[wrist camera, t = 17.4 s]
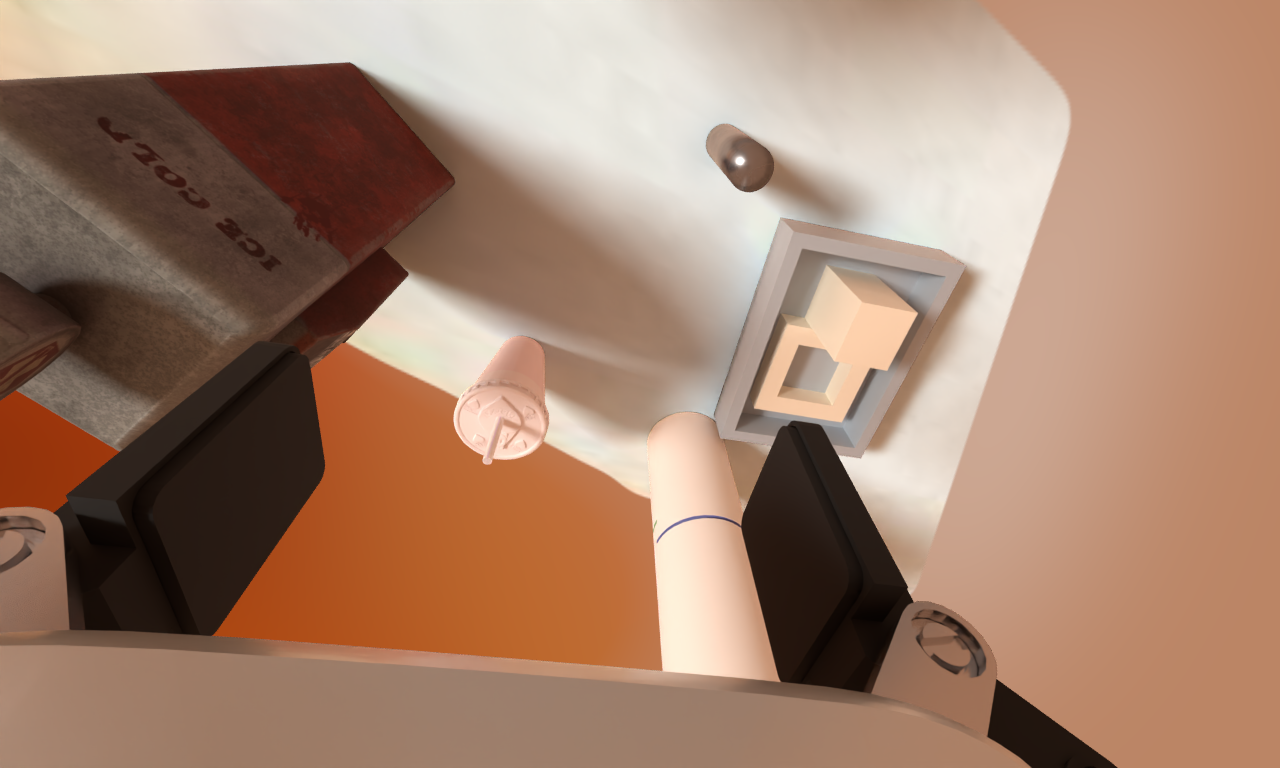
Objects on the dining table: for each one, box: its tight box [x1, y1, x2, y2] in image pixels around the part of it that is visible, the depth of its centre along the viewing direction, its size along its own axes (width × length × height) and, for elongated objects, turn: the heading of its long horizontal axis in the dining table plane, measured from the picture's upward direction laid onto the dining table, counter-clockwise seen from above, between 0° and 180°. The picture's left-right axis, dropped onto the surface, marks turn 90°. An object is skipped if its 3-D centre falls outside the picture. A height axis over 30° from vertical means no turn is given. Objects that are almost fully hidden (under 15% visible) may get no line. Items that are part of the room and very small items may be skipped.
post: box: [706, 124, 774, 192], centre depth 32 cm, size 2×2×9 cm
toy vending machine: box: [0, 62, 455, 451], centre depth 25 cm, size 9×11×28 cm
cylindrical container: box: [647, 412, 781, 682], centre depth 39 cm, size 7×7×25 cm
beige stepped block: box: [749, 265, 918, 423], centre depth 41 cm, size 8×12×7 cm, turn 168°
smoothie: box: [454, 336, 549, 464], centre depth 38 cm, size 6×6×14 cm
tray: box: [714, 218, 966, 458], centre depth 43 cm, size 18×13×4 cm
